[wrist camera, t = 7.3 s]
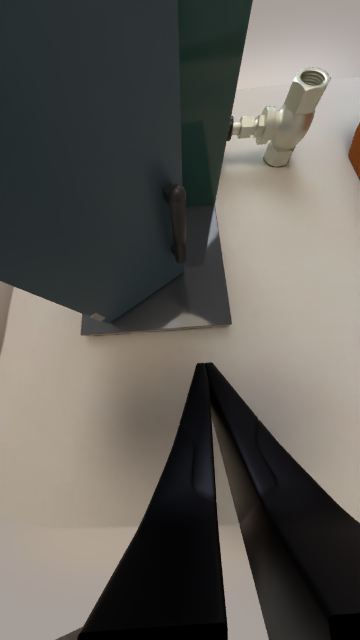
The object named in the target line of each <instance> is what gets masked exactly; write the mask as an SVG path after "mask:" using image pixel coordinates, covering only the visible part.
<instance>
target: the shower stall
mask: <svg viewBox="0 0 360 640" xmlns="http://www.w3.org/2000/svg"><path fill="white" fill-rule="evenodd" d="M252 1H253V0H178V34H179V74H180V114H181V154H182V186H183V187H184V189H185V191H186V261H185V262H184V272H183V273H181V274H180V275H179V276H177V277H176V278H174V279H173V280H171V281H170V282H168V283H167V284H166V285H164V286H163V287H161V288H160V289H158V290H157V291H155V292H154V293H153V294H151V295H150V296H148V297H147V298H145V299H144V300H142V301H141V302H140V303H138V304H137V305H135V306H134V307H132V308H131V309H129V310H128V311H126V312H125V313H124V314H122V315H121V316H119V317H118V318H116V319H115V320H113V321H112V322H111V323H109V324H107V323H105V322H102V321H98V320H96V319H93V318H91V317H90V316H87V315H85V314H82V325H81V335H83V336H101V335H115V334H129V333H143V332H156V331H170V330H184V329H198V328H212V327H226V326H230V325H231V324H232V322H231V315H230V308H229V301H228V294H227V287H226V280H225V273H224V266H223V259H222V252H221V245H220V238H219V231H218V224H217V217H216V210H215V200H216V194H217V189H218V184H219V178H220V173H221V168H222V162H223V157H224V152H225V146H226V141H227V136H228V130H229V125H230V119H231V114H232V109H233V103H234V98H235V93H236V87H237V81H238V76H239V71H240V66H241V60H242V55H243V49H244V44H245V39H246V33H247V28H248V23H249V17H250V12H251V6H252Z"/></svg>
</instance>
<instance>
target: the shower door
mask: <svg viewBox="0 0 360 640" xmlns="http://www.w3.org/2000/svg"><path fill="white" fill-rule="evenodd" d="M185 261H186V191H185V189H184V187H183V186H182V154H181V114H180V74H179V34H178V0H0V281H2V282H5V283H7V284H9V285H12V286H14V287H17V288H19V289H22V290H24V291H27V292H29V293H32V294H34V295H37V296H39V297H42V298H44V299H47V300H49V301H52V302H55V303H57V304H60V305H62V306H65V307H67V308H70V309H72V310H75V311H77V312H80V313H82V314H85V315H87V316H90V317H91V318H93V319H96V320H98V321H102V322H105V323H107V324H109V323H111V322H112V321H113V320H115V319H116V318H118V317H119V316H121V315H122V314H124V313H125V312H126V311H128V310H129V309H131V308H132V307H134V306H135V305H137V304H138V303H140V302H141V301H142V300H144V299H145V298H147V297H148V296H150V295H151V294H153V293H154V292H155V291H157V290H158V289H160V288H161V287H163V286H164V285H166V284H167V283H168V282H170V281H171V280H173V279H174V278H176V277H177V276H179V275H180V274H181V273H183V272H184V262H185Z"/></svg>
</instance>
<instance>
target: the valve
mask: <svg viewBox="0 0 360 640" xmlns="http://www.w3.org/2000/svg"><path fill="white" fill-rule="evenodd" d="M330 79H331V77H330V76H329V74H328V73H327V72H326V71H324V70H322V69H320V68H314V67H312V68H311V67H310V68H305V69H302V70H300V71H299V72H298V73H297V75H296V76H295V78H294V80H293V82H292V85H291V87H290V90H289V93H288V95H287V98H286V100H285V103H284V105H283V106H282V108H281V109H280V110H276V106H266V107H265V108H264V110H263V112H262V114H261V115H260V116H257V118H256V120H253V118H254V116H245V117H241V119H240V122H233V116H231V119H230V125H229V130H228V136H227V141H230V139H231V136H232V135H237V137H238V139H240V138H250V135H252V134H253V138H254V137H256V143H257V145H261V144H266V143H267V142H268V140H271V141H270V142H269V144H268V147H267V149H266V152H265V154H264V157H263V158H264V160H265V161H266V162H267V163H268V164H269V165H271V166H276V167H279V166H284V165H286V164H287V162H288V160H289V158H290V156H291V154H292V152H293V150H294V148H295V146H296V145H297V144H298V143H299V142H300V141H301V140H302V138H303V137H304V136H305V134H306V133H307V131H308V129H309V127H310V125H311V123H312V120H313V117H314V113H315V108H316V106H317V104H318V102H319V100H320V98H321V97H322V95H323V93H324V91H325V89H326V87H327V85H328V83H329V81H330Z"/></svg>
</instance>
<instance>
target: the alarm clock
mask: <svg viewBox="0 0 360 640" xmlns="http://www.w3.org/2000/svg"><path fill="white" fill-rule="evenodd" d="M349 159H350V161H351V163H352V165H353V167H354V169H355V171H356V172H357V174H358V176H359V178H360V123H359V125H358V127H357V129H356V132H355V134H354V138H353V141H352V144H351V148H350V151H349Z"/></svg>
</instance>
